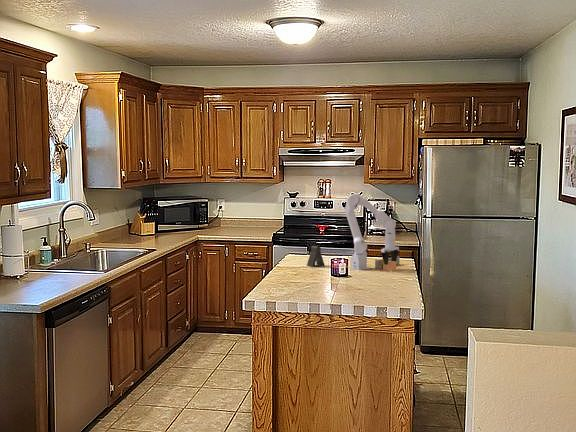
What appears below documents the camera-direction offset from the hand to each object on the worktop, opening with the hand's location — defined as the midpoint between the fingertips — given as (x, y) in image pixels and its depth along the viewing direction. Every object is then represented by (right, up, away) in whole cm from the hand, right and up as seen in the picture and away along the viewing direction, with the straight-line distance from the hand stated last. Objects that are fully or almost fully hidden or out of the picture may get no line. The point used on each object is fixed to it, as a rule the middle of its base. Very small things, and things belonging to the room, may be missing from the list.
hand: (389, 263), depth 359 cm
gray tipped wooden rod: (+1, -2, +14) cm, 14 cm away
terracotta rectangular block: (0, -4, 0) cm, 4 cm away
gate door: (-1, -2, +12) cm, 12 cm away
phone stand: (-42, -3, +13) cm, 44 cm away
